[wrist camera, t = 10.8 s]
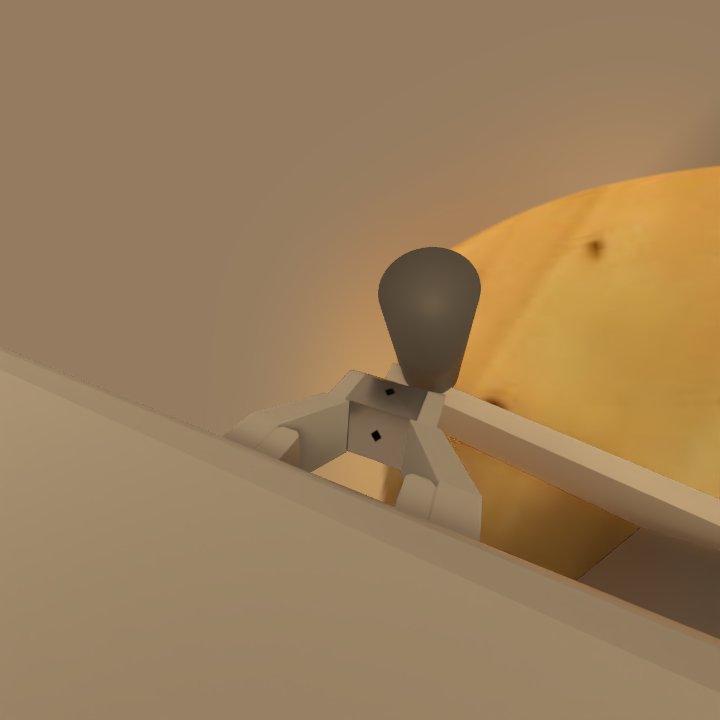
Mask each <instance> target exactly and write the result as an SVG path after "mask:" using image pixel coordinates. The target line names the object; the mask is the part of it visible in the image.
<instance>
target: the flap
mask: <svg viewBox="0 0 720 720" xmlns="http://www.w3.org/2000/svg"><path fill="white" fill-rule="evenodd" d="M480 291H481V285H480V279H479V276H478V273H477V271H476V269H475V268H474V266H473V265H472V264H471V263H470V261H469V260H467V259H466V258H465V257H464V256H462V255H460V254H459V253H457V252H455V251H452V250H449V249H445V248H437V247H427V248H421V249H416V250H413V251H410V252H408V253H406V254H404V255H402V256H401V257H399V258H398V259H397V260H395V261H394V262H393V263H392V264H391V265H390V266H389V267H388V268H387V270H386V271H385V273H384V274H383V277H382V278H381V281H380V284H379V291H378V297H379V303H380V306H381V309H382V313H383V316H384V319H385V322H386V325H387V328H388V331H389V334H390V337H391V340H392V343H393V346H394V349H395V352H396V355H397V358H398V361H399V364H400V365H397V364H395V363H393V364H392V366H391V368H390V370H389V372H388V374H387V376H386V378H385V379H387V380H390V381H393V382H397V383H399V384H403V385H407V386H411V387H415V388H419V389H423V390H427V391H431V392H436V393H440V394H444V395H446V398H445V402H444V406H443V410H442V414H441V418H440V422H439V426H438V428H440V429H442V430H443V432H444V434H445V435H448V436H450V437H452V438H454V439H456V440H458V441H460V442H462V443H464V444H467V445H469V446H471V447H473V448H475V449H477V450H479V451H481V452H483V453H485V454H488V455H490V456H492V457H494V458H496V459H498V460H500V461H502V462H504V463H506V464H509V465H511V466H513V467H515V468H517V469H519V470H521V471H523V472H525V473H527V474H530V475H532V476H534V477H536V478H538V479H540V480H542V481H544V482H546V483H548V484H551V485H553V486H555V487H557V488H559V489H561V490H563V491H565V492H567V493H569V494H572V495H574V496H576V497H578V498H580V499H582V500H584V501H586V502H588V503H590V504H593V505H595V506H597V507H599V508H601V509H603V510H605V511H607V512H609V513H612V514H614V515H616V516H618V517H620V518H622V519H624V520H626V521H628V522H630V523H633V524H635V525H637V526H639V527H641V528H644V529H648V530H651V531H655V532H658V533H662V534H665V535H668V536H672V537H675V538H679V539H682V540H686V541H689V542H693V543H696V544H700V545H703V546H707V547H710V548H713V549H717V550H720V499H718V498H716V497H714V496H711V495H709V494H706V493H704V492H702V491H699V490H697V489H694V488H692V487H690V486H687V485H685V484H682V483H680V482H678V481H675V480H673V479H670V478H668V477H666V476H663V475H661V474H658V473H656V472H654V471H651V470H649V469H647V468H644V467H642V466H639V465H637V464H635V463H632V462H630V461H627V460H625V459H623V458H620V457H618V456H615V455H613V454H611V453H608V452H606V451H603V450H601V449H599V448H596V447H594V446H591V445H589V444H587V443H584V442H582V441H579V440H577V439H575V438H572V437H570V436H567V435H565V434H563V433H560V432H558V431H555V430H553V429H551V428H548V427H546V426H544V425H541V424H539V423H536V422H534V421H532V420H529V419H527V418H524V417H522V416H520V415H517V414H515V413H512V412H510V411H508V410H505V409H503V408H500V407H498V406H496V405H493V404H491V403H488V402H486V401H484V400H481V399H479V398H476V397H474V396H472V395H469V394H467V393H464V392H462V391H460V390H457V389H455V388H453V387H454V385H455V383H456V381H457V379H458V375H459V371H460V367H461V364H462V360H463V356H464V353H465V349H466V345H467V342H468V338H469V334H470V331H471V327H472V323H473V320H474V316H475V312H476V308H477V305H478V301H479V297H480Z"/></svg>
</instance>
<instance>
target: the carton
mask: <svg viewBox="0 0 720 720" xmlns="http://www.w3.org/2000/svg"><path fill="white" fill-rule="evenodd" d="M577 581H578V582H580V583H583V584H585V585H588V586H590V587H592V588H595V589H597V590H600V591H602V592H605V593H607V594H610V595H612V596H615V597H617V598H619V599H622V600H624V601H627V602H629V603H632V604H634V605H637V606H639V607H642V608H644V609H646V610H649V611H651V612H654V613H656V614H659V615H661V616H664V617H666V618H669V619H671V620H673V621H676V622H678V623H681V624H683V625H686V626H688V627H691V628H693V629H696V630H698V631H700V632H703V633H705V634H708V635H710V636H713V637H715V638H718V639H720V550H717V549H713V548H710V547H707V546H703V545H700V544H696V543H693V542H689V541H686V540H682V539H679V538H675V537H672V536H668V535H665V534H662V533H658V532H655V531H651V530H648V529H644V528H640V529H638V530H637V531H636V532H635V533H634V534H632V535H631V536H630V537H629V538H628V539H626V540H625V541H624V542H623V543H621V544H620V545H619V546H618V547H617V548H615V549H614V550H613V551H612V552H611V553H609V554H608V555H607V556H606V557H604V558H603V559H602V560H601V561H600V562H598V563H597V564H596V565H595V566H594V567H592V568H591V569H590V570H589V571H587V572H586V573H585V574H584V575H583V576H581V577H580V578H579V579H578V580H577Z"/></svg>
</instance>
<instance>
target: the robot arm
mask: <svg viewBox="0 0 720 720" xmlns="http://www.w3.org/2000/svg"><path fill="white" fill-rule="evenodd" d="M445 398H446V395H444V394H440V393H436V392H431V391H427V390H423V389H419V388H415V387H411V386H407V385H403V384H399V383H397V382H393V381H390V380H387V379H383V378H380V377H376V376H373V375H370V374H366V373H363V372H359V371H355V370H350V371H349V372H348V373H347V374H346V375H345V376H344V378H343V379H342V380H341V381H340V382H339V383H338V384H337V385H336V386H335V387H334V388H333V389H332V390H331V392H330V393H329V394H326V393H321V394H318V395H314V396H311V397H307V398H304V399H300V400H297V401H293V402H289V403H286V404H283V405H279V406H275V407H272V408H268V409H264V410H261V411H257V412H254V413H251V414H250V415H248V416H247V417H246V418H245V419H244V420H242V421H241V422H240V423H239V424H237V425H236V426H235V427H234V428H233V429H231V430H230V431H229V432H228V433H226V434H225V435H224V436H223V437H221V436H219V435H216V434H214V433H211V432H209V431H207V430H204V429H201V428H199V427H197V426H194V425H192V424H189V423H187V422H184V421H182V420H180V419H177V418H175V417H172V416H170V415H167V414H165V413H162V412H160V411H157V410H155V409H153V408H150V407H147V406H145V405H142V404H140V403H138V402H135V401H133V400H130V399H128V398H126V397H123V396H121V395H118V394H116V393H113V392H111V391H108V390H106V389H103V388H101V387H99V386H96V385H94V384H91V383H89V382H86V381H84V380H81V379H79V378H77V377H74V376H72V375H69V374H66V373H64V372H62V371H60V370H57V369H55V368H52V367H49V366H47V365H45V364H42V363H40V362H37V361H35V360H32V359H30V358H28V357H25V356H23V355H21V354H18V353H16V352H14V351H11V350H9V349H6V348H2V347H0V720H720V639H718V638H715V637H713V636H710V635H708V634H705V633H703V632H700V631H698V630H696V629H693V628H691V627H688V626H686V625H683V624H681V623H678V622H676V621H673V620H671V619H669V618H666V617H664V616H661V615H659V614H656V613H654V612H651V611H649V610H646V609H644V608H642V607H639V606H637V605H634V604H632V603H629V602H627V601H624V600H622V599H619V598H617V597H615V596H612V595H610V594H607V593H605V592H602V591H600V590H597V589H595V588H592V587H590V586H588V585H585V584H583V583H580V582H578V581H575V580H573V579H570V578H568V577H565V576H563V575H560V574H558V573H555V572H553V571H550V570H548V569H546V568H543V567H541V566H538V565H536V564H533V563H531V562H528V561H526V560H523V559H521V558H518V557H516V556H513V555H511V554H508V553H506V552H503V551H501V550H498V549H496V548H494V547H491V546H489V545H486V544H484V543H481V542H480V532H481V517H482V502H483V497H482V496H481V494H480V492H479V491H478V489H477V487H476V486H475V484H474V482H473V481H472V479H471V477H470V476H469V474H468V472H467V471H466V469H465V467H464V466H463V464H462V462H461V461H460V459H459V457H458V456H457V454H456V452H455V451H454V449H453V447H452V445H451V444H450V442H449V440H448V439H447V437H446V435H445V434H444V432H443V430H442V429H440V428H438V426H439V422H440V418H441V414H442V410H443V406H444V402H445ZM346 451H350V452H353V453H355V454H358V455H361V456H364V457H367V458H370V459H373V460H376V461H378V462H381V463H383V464H386V465H388V466H391V467H393V468H396V469H398V470H401V475H402V479H403V484H402V487H401V490H400V492H399V495H398V498H397V500H396V503H395V505H394V507H393V506H391V505H389V504H386V503H384V502H381V501H379V500H376V499H374V498H371V497H369V496H367V495H364V494H362V493H359V492H357V491H354V490H352V489H349V488H347V487H344V486H342V485H339V484H337V483H335V482H332V481H329V480H327V479H324V478H322V477H320V476H317V475H315V474H312V473H310V472H312V471H314V470H315V469H317V468H319V467H320V466H322V465H324V464H326V463H328V462H329V461H331V460H333V459H335V458H337V457H338V456H340V455H342V454H344V453H346Z"/></svg>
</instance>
